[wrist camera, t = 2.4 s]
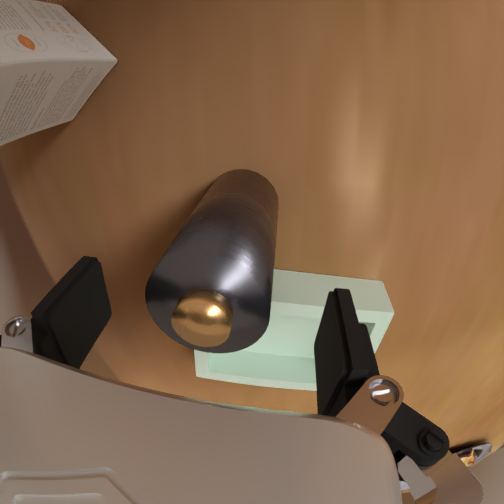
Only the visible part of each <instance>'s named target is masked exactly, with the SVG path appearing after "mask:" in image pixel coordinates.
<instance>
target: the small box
mask: <svg viewBox="0 0 504 504" xmlns="http://www.w3.org/2000/svg"><path fill="white" fill-rule="evenodd" d="M117 62H118V60H117V59H116V58H115V57H114V56H113V55H112V54H111V53H110V52H109V51H108V50H107V49H106V48H105V47H104V46H103V45H102V44H101V43H100V42H99V41H98V40H97V39H96V38H95V37H94V36H93V35H91V34H90V33H89V32H88V31H87V30H86V29H85V28H84V27H83V26H82V25H81V24H80V23H79V22H78V21H77V20H76V19H75V18H74V17H73V16H72V15H70V14H69V13H68V12H67V11H66V10H65V9H64V8H63V7H62V6H61V5H58V4H53V3H47V2H41V1H35V0H0V146H2V145H4V144H7V143H9V142H12V141H14V140H17V139H19V138H22V137H25V136H27V135H30V134H33V133H35V132H38V131H41V130H44V129H47V128H50V127H53V126H56V125H59V124H62V123H66V122H69V121H72V120H73V119H74V118H75V116H76V115H77V113H78V112H79V111H80V109H81V108H82V106H83V105H84V104H85V102H86V101H87V100H88V98H89V97H90V96H91V94H92V93H93V92H94V90H95V89H96V88H97V87H98V85H99V84H100V83H101V81H102V80H103V79H104V78H105V76H106V75H107V74H108V73H109V72H110V70H111V69H112V68H113V67H114V66H115V64H116V63H117Z"/></svg>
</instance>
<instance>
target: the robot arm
mask: <svg viewBox="0 0 504 504" xmlns="http://www.w3.org/2000/svg"><path fill="white" fill-rule="evenodd" d="M31 314H32V317H33V318H32V319H31V320H30V319H29V318H28V317H26V316H23V315H19V316H15V317H13V318H11V319H9V320H8V321H7V322H6V323H5V324H4V326H3V328H2V335H0V504H402V497H401V488H400V482H399V480H400V481H404V482H406V483H407V484H408V486H409V487H410V489H408V490H409V492H410V493H411V494H412V495H413V498H414V500H415V504H480V503H481V501H482V499H483V495H484V493H483V487H482V485H481V483H480V482H479V481H478V480H477V478H476V477H475V476H474V475H473V474H472V472H471V471H470V470H469V469H468V467H467V466H466V465H465V464H464V463H463V461H462V460H461V459H460V458H459V456H458V455H457V454H456V453H454V454H453V455H452V453H451V452H450V451H449V439H448V436H447V435H446V433H445V432H444V431H443V430H442V429H441V428H439V427H438V426H437V425H435V424H434V423H432V422H431V421H429V420H428V419H426V418H425V417H423V416H422V415H420V414H419V413H418V412H416V411H415V410H413V409H412V408H410V407H409V406H408V405H406V404H405V403H403V402H402V401H403V398H404V392H403V390H402V387H401V386H400V385H399V383H398V382H397V381H395V380H394V379H392V378H390V377H388V376H383V375H380V374H379V370H378V366H377V362H376V358H375V354H374V351H373V347H372V343H371V339H370V336H369V332H368V328H367V326H366V325H365V324H360V323H359V321H358V318H357V314H356V310H355V306H354V303H353V299H352V296H351V292H350V290H349V289H342V288H335V289H334V291H329V293H328V297H327V300H326V304H325V307H324V311H323V314H322V318H321V321H320V325H319V328H318V332H317V335H316V338H315V342H314V357H315V371H316V387H317V405H318V414H310V413H301V412H290V411H280V410H270V409H261V408H253V407H245V406H238V405H230V404H224V403H217V402H211V401H205V400H200V399H194V398H189V397H184V396H179V395H174V394H169V393H165V392H160V391H156V390H151V389H147V388H143V387H139V386H135V385H131V384H128V383H124V382H120V381H116V380H113V379H109V378H106V377H102V376H99V375H96V374H93V373H90V372H86V371H83V370H80V369H79V368H80V366H81V365H82V363H83V361H84V360H85V358H86V356H87V355H88V353H89V351H90V350H91V348H92V346H93V345H94V343H95V342H96V340H97V338H98V337H99V335H100V334H101V332H102V330H103V329H104V327H105V326H106V324H107V323H108V321H109V319H110V317H111V307H110V303H109V299H108V295H107V290H106V286H105V281H104V276H103V272H102V267H101V263H100V262H99V261H98V259H97V258H95V257H89V256H83V257H82V258H81V259H80V260H79V261H78V262H77V263H76V264H75V265H74V266H73V267H72V268H71V269H70V270H69V271H68V272H67V273H66V275H65V276H64V277H63V278H62V279H61V280H60V281H59V282H58V283H57V284H56V285H55V286H54V287H53V289H51V291H50V292H49V293H48V294H47V295H46V296H45V297H44V298H43V299H42V301H41V302H40V303H39V304H38V305H37V306H36V307H35V309H34V310H33V311H32V312H31Z"/></svg>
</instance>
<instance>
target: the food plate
mask: <svg viewBox="0 0 504 504" xmlns="http://www.w3.org/2000/svg"><path fill="white" fill-rule="evenodd" d="M491 445H492V444H491V443H484V444H479V445H475V446H472V447H469V448H467V449H462V450H460V451H458V452H456V454H457V455H458V456H459V458H460V459H461V460H462V461H463V463H464V464H465V465H466V466H467V467H468V468H470V467H472V466H473V465H475V464H476V463H478V462H479V461H481V460H482V459H484V457H485V456H487V455H488V454H490V453H489V452H491V448H492V446H491ZM453 454H454V453H453ZM453 454H452V455H453ZM399 482H400V488H401V490H407V489H410V487H409V486H408V484H407V483H406V482H404V481H400V480H399Z"/></svg>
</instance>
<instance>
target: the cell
mask: <svg viewBox="0 0 504 504" xmlns="http://www.w3.org/2000/svg"><path fill="white" fill-rule="evenodd" d="M277 219H278V197H277V194H276V191H275V189H274V187H273V186H272V184H271V183H270V182H269V181H268V180H267V179H266V178H265V177H263V176H262V175H260V174H258V173H256V172H253V171H250V170H241V169H239V170H233V171H229V172H226V173H224V174H223V175H221V176H220V177H218V178H217V179H216V180H215V181H214V183H213V184H212V185H211V187H210V188H209V190H208V191H207V192H206V194H205V195H204V197H203V198H202V199H201V201H200V202H199V204H198V205H197V207H196V208H195V209H194V211H193V212H192V214H191V215H190V217H189V218H188V220H187V221H186V223H185V224H184V225H183V227H182V228H181V230H180V231H179V233H178V234H177V236H176V237H175V239H174V240H173V242H172V243H171V245H170V246H169V248H168V249H167V251H166V253H165V254H164V256H163V257H162V259H161V260H160V262H159V263H158V265H157V267H156V268H155V270H154V271H153V273H152V274H151V276H150V278H149V280H148V282H147V285H146V291H145V298H146V304H147V308H148V310H149V313H150V315H151V316H152V318H153V320H154V321H155V323H156V324H157V325H158V326H159V327H160V329H161V330H162V331H163V332H165V333H166V334H167V335H168V336H169V337H171V338H172V339H174V340H175V341H177V342H178V343H180V344H182V345H184V346H187V347H189V348H192V349H195V350H198V351H202V352H207V353H231V352H236V351H240V350H243V349H245V348H247V347H249V346H251V345H253V344H254V343H255V342H257V341H258V340H259V339H260V338H261V337H262V336H263V334H264V333H265V331H266V329H267V327H268V325H269V321H270V311H271V299H272V287H273V274H274V261H275V248H276V234H277Z"/></svg>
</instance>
